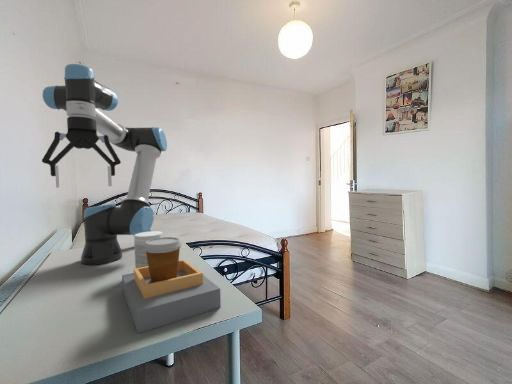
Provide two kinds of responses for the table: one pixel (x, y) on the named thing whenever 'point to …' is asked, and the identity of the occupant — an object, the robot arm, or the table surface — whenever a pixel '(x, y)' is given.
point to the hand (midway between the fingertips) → (85, 186)
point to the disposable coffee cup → (163, 258)
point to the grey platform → (168, 296)
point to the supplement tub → (139, 246)
